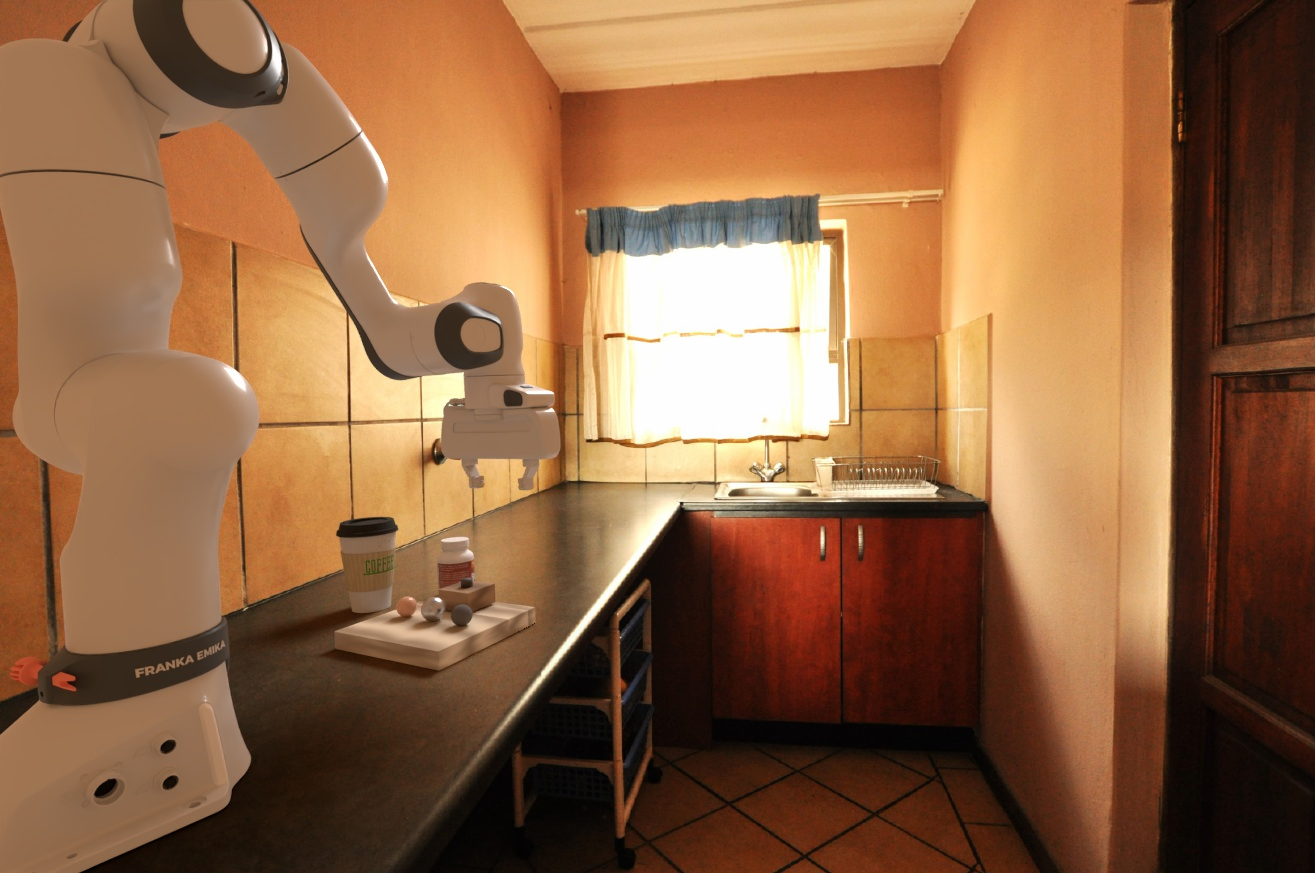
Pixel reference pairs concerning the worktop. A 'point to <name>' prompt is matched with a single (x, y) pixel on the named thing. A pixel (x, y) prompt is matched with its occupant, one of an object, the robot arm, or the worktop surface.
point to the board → (433, 635)
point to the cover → (468, 594)
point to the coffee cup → (368, 561)
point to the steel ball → (433, 609)
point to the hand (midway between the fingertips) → (501, 488)
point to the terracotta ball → (406, 606)
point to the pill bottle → (454, 561)
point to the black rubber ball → (461, 615)
